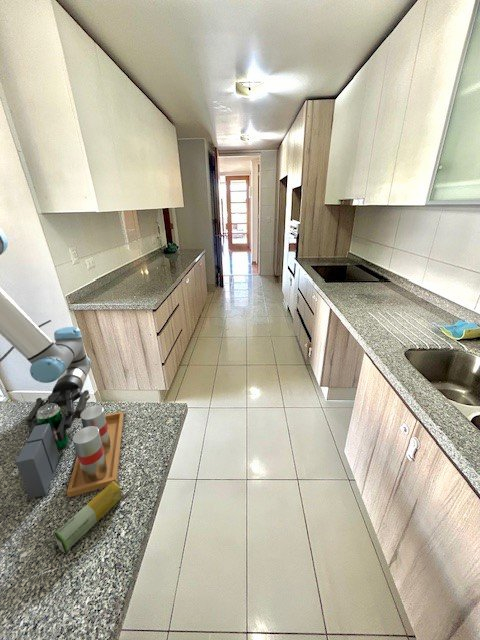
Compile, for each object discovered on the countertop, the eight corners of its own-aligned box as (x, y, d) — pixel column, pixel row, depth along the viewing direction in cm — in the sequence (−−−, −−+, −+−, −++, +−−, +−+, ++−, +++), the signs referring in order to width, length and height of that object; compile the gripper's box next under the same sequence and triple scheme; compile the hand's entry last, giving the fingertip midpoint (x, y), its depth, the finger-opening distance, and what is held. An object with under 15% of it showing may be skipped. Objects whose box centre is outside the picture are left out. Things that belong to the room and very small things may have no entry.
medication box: (64, 556, 47) (60, 544, 45) (56, 546, 48) (51, 533, 46) (122, 498, 56) (121, 486, 55) (114, 490, 57) (112, 479, 56)
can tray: (89, 423, 77) (87, 418, 76) (123, 416, 80) (123, 411, 79) (68, 499, 56) (66, 492, 55) (116, 485, 59) (115, 479, 58)
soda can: (43, 454, 67) (30, 417, 62) (52, 439, 71) (41, 403, 67) (65, 451, 68) (54, 414, 63) (72, 436, 72) (62, 401, 68)
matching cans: (91, 444, 69) (82, 407, 65) (112, 439, 71) (104, 403, 67) (81, 486, 58) (69, 446, 54) (106, 480, 60) (97, 440, 55)
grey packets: (46, 460, 65) (34, 425, 61) (60, 457, 66) (49, 423, 62) (30, 500, 56) (15, 462, 52) (46, 495, 57) (33, 458, 53)
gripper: (103, 389, 87) (90, 442, 66) (39, 400, 81) (4, 461, 61) (99, 370, 84) (84, 419, 64) (32, 380, 79) (-7, 437, 58)
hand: (45, 439), depth 62 cm, fingers closed on soda can, 5 cm apart
